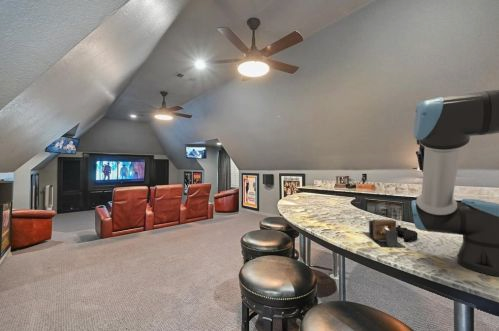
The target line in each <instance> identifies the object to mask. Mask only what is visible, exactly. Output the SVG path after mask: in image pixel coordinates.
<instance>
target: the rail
mask: <svg viewBox="0 0 499 331" xmlns="http://www.w3.org/2000/svg"><path fill="white" fill-rule="evenodd" d="M373 220H374V219H369V220H368V232H367V231H363V232H362V233H363V234H364V235H365V236H366V237H368V238H369V239H370V240H372V241H373V242H374V243H375V244H377V245H378V246H380V248H405V249H406V246H404V245H403V244H401V243H400V242H399V241H398V234H397V231H394V230H390V228H388V226H381V233H383V234H385V235H386V240H375V239H374V238H373Z"/></svg>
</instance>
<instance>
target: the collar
mask: <svg viewBox="0 0 499 331" xmlns="http://www.w3.org/2000/svg"><path fill="white" fill-rule="evenodd" d="M372 220H373V238H374V239H375V240H386V235H385V234H383V233H381V226H386V227H388V228H390V230H394V231H396V227H397V221H396V220H395V219H372Z"/></svg>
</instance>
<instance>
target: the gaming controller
mask: <svg viewBox="0 0 499 331" xmlns="http://www.w3.org/2000/svg"><path fill="white" fill-rule="evenodd" d="M396 231H397V235H400V236H401V235H403V240H404V242H406V243H410V242H412V241H413V240H417V239H418V235H419V233H418V232H417V231H416V230H413V229H409V228H407V227H402V225H399V224H398V225H397V226H396Z"/></svg>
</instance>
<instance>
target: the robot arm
mask: <svg viewBox="0 0 499 331" xmlns="http://www.w3.org/2000/svg"><path fill="white" fill-rule="evenodd" d="M493 134H494V135H495V134H499V89H493V90H491V89H489V90H485V91H478V92H472V93H465V94H457V95H451V96H438V97H436V98H431V99H427V100H426V99H425V100H423V101H422V102H420V103H418V104H417V105H416V106H415V116H414V126H413V137H414V139H415V140H416V145H418V146H419V148H418V150H417V151H415V154H416V158H417V164H418V168H419V169H418V170H419V171H421V172H422V181H421V182H422V185H421V187H422V188H421V194H419V195H418V196H417V197H416V199H413V200H412V201H411V210H412V212H411V213H412V216H413V217H412V219H413V223H414V227H415V228H416V229H417V230H420V231H423V232H424V231H425V232H432V233H440V234H451V235H459V236H462V243H461V246H460V248H459V249H458V252H457V254H456V262H457V263H458V264H459V265H460V266H462V267H464V268H466V269H469V270H471V271H474V272H478V273H480V272H481V273H480V274H484V273H485V275H488V274H490V276H493V275H494V276H493V277H499V203H497V202H493V201H492V202H491V201H486V200H480V199H473V198H472V199H471V198H462V200H461V202H457V200H456V199H454V193H455V186H456V180H457V176H458V175H457V174H458V168H459V167H458V166H459V163H460V162H459V161H460V156H461V155H460V154H461V151H462V148H463V147H465V146H467V145H468V144H469V142H470V139H471V137H474V136H484V135H485V136H487V135H493Z"/></svg>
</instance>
